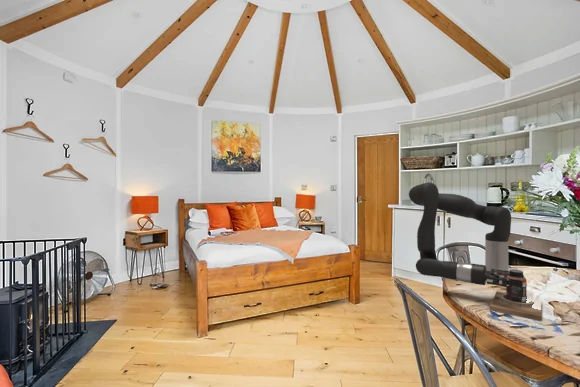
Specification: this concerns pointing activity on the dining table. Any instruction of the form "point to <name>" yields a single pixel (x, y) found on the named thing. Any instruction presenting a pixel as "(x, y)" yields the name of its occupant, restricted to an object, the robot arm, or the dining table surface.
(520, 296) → the supplement bottle
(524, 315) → the walnut board
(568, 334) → the dining table surface
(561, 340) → the dining table surface
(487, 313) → the dining table surface
